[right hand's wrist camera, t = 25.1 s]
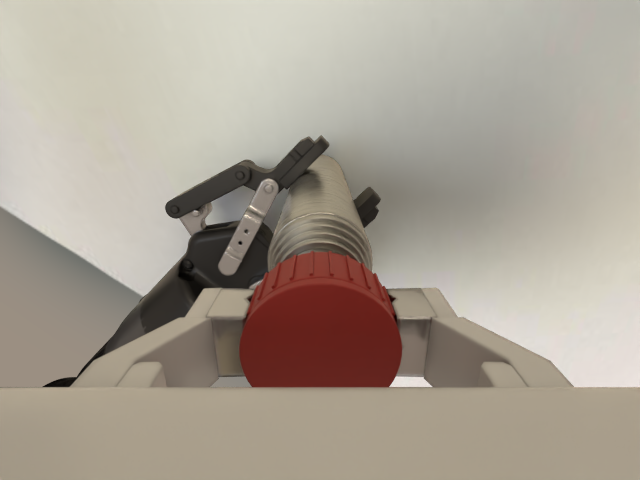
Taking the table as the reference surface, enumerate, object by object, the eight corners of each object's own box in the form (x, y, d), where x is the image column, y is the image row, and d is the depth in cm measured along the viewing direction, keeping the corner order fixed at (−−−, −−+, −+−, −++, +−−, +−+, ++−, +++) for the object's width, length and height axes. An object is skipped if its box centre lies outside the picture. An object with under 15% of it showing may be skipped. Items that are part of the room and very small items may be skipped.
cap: (402, 258, 9) (422, 292, 8) (375, 375, 11) (386, 427, 9) (256, 240, 9) (241, 271, 7) (247, 362, 11) (232, 412, 9)
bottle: (335, 147, 28) (375, 244, 8) (349, 194, 29) (414, 375, 9) (288, 163, 28) (216, 293, 8) (304, 209, 30) (275, 411, 10)
